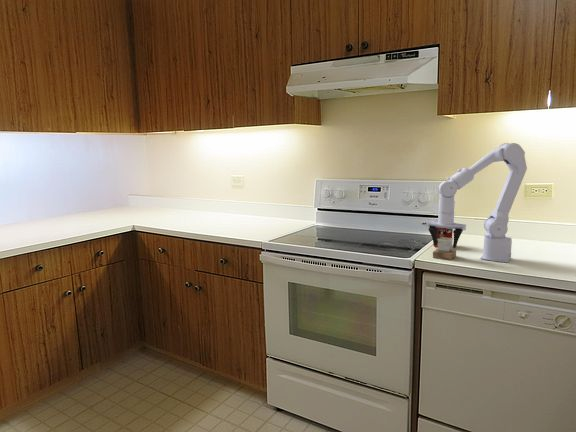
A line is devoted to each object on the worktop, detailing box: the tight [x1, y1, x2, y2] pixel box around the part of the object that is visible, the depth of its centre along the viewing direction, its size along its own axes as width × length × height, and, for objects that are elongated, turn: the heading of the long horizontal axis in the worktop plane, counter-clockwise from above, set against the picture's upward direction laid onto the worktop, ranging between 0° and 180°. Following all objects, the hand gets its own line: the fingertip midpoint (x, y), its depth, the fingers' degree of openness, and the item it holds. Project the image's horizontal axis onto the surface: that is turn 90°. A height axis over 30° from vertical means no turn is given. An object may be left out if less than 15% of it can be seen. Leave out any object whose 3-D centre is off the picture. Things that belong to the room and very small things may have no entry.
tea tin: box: [438, 237, 454, 252], centre depth 164 cm, size 5×5×5 cm
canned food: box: [433, 219, 454, 249], centre depth 181 cm, size 8×8×11 cm
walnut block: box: [432, 247, 457, 261], centre depth 165 cm, size 7×7×2 cm
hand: (444, 246), depth 164 cm, fingers open, 7 cm apart
